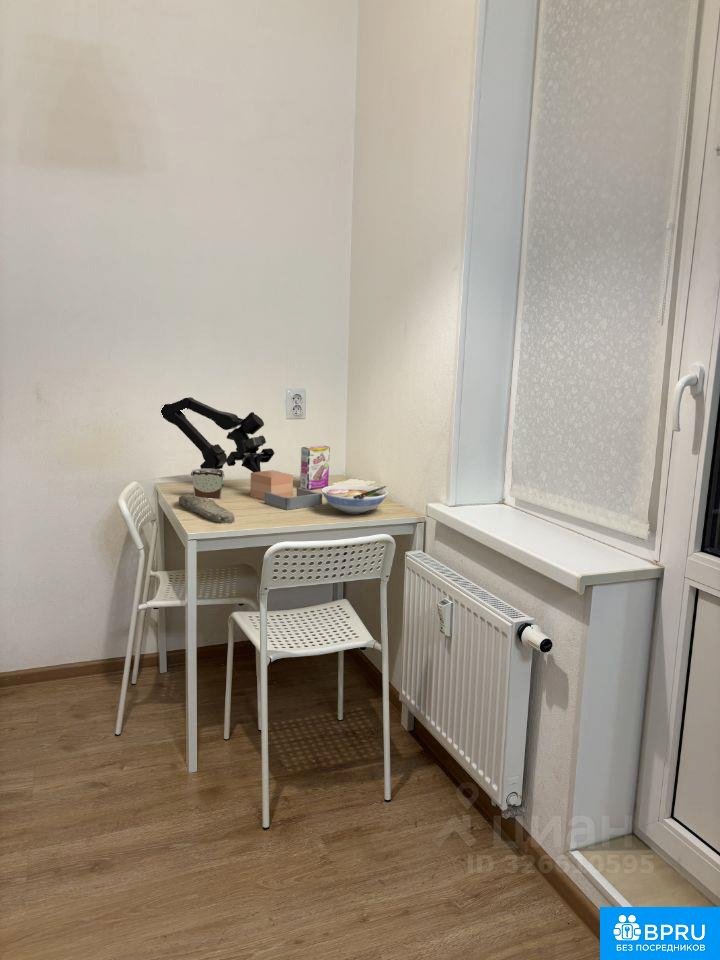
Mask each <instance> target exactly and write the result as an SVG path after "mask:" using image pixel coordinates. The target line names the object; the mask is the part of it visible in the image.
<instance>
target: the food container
mask: <svg viewBox="0 0 720 960" xmlns="http://www.w3.org/2000/svg"><path fill="white" fill-rule="evenodd" d="M190 477H192V486H193V495H194V496H197V497H206V498H213V499H212V500H221V499H222V492H223V491H222V487H223V486H222V484H223V479H224V478H225V477H226V476H225V473H224V470H222V469H201V468H197V469H196V468H195V469H192V470H191V473H190ZM220 498H221V499H220Z"/></svg>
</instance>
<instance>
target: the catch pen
mask: <svg viewBox="0 0 720 960" xmlns="http://www.w3.org/2000/svg"><path fill="white" fill-rule="evenodd" d="M265 503H266V504H265ZM264 504H265V505H269V504H270V505H269V506H272V505H273V506H272V507H275V506H276V507H275V508H278V507H279V509H281V510H285V509H286V510H285V511H290V510H289V509H292V510H296V508H298V509H303V507H305V508H310V507H317V506H322V505H323V493H320V492H317V491H314V490H313V491H312V490H306V489H302V488H300V487H296V496H293V497H289V498H287V497H284V496H280V495H277V494H273V493H270V492H265V500H264Z"/></svg>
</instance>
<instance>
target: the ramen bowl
mask: <svg viewBox="0 0 720 960" xmlns="http://www.w3.org/2000/svg"><path fill="white" fill-rule="evenodd" d="M387 487H388V486H385V485H384V486H381V487H379V486H373V485H366V484H365V485H363V484H336V485H335V484H333V485H328V487H324V488H320V489H321V492H322V496H324V498H325V500H326V501H327V503H328V505H330V506H331V507H333V508H335V509H337V510H339V511H342V512H343V513H345V514H350V515H351V514H352V515H360V514H359V513H361V514H364V513H365V512H367V511H371V510H373V509H376V508H377V507H379V505H381V504H382V503H383V501H384V500H385V498H386V497H387V495H388V493H389V492H388V491H387V490H386V489H385V488H387Z"/></svg>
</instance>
